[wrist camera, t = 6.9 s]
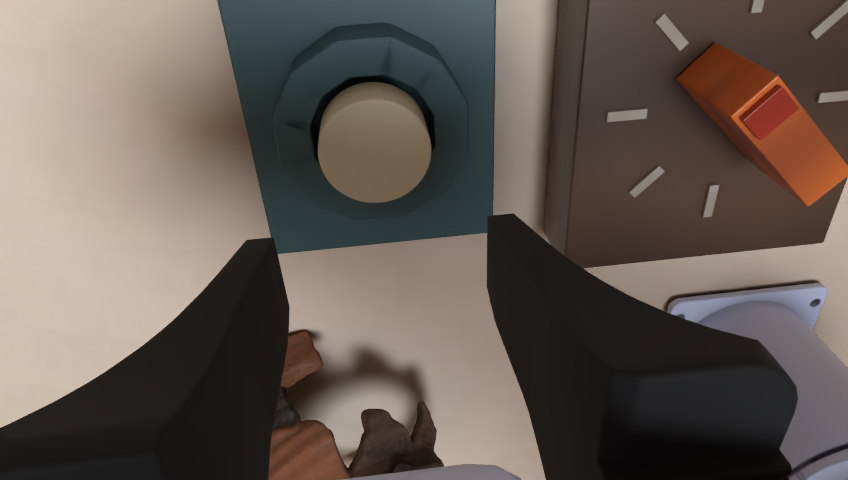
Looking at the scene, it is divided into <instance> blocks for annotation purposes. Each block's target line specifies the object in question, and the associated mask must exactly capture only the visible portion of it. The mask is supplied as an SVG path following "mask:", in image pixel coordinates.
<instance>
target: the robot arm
mask: <svg viewBox="0 0 848 480" xmlns="http://www.w3.org/2000/svg"><path fill="white" fill-rule="evenodd" d="M487 289H488V293H489V297H490V302H491V306H492V310H493V314H494V319H495V322H496V325H497V328H498V330H499V333H500V336H501V338H502V341H503V344H504V346H505V349H506V352H507V354H508V357H509V359H510V362H511V365H512V367H513V370H514V372H515V375H516V377H517V380H518V383H519V385H520V388H521V390H522V393H523V396H524V399H525V402H526V405H527V408H528V411H529V414H530V418H531V422H532V426H533V430H534V433H535V437H536V441H537V445H538V449H539V453H540V457H541V461H542V465H543V469H544V473H545V477H546V480H848V367H847V366H846V365H845V364H844V363H843V362H842V361H841V360H840V359H839V358H838V357H837V356H836V355H835V354H834V353H833V352H832V351H831V350H830V349H829V347H828V346H827V345H826V344H825V343H824V342H823V341H822V340H821V339H820V338H819V337H818V336H817V335H816V334H815V333H814V332H813V331H812V330H813V328H814V325H815V323H816V320H817V318H818V315H819V313H820V310H821V308H822V305H823V303H824V300H825V298H826V295H827V292H828V290H827V288H826V287H825V286H824V285H823V284H821V283H811V284H802V285H793V286H783V287H774V288H765V289H756V290H747V291H738V292H729V293H720V294H711V295H702V296H693V297H683V298H678V299H675V300H673V301H672V302H671V303H670V304H669V306H668V310H667V312H665V311H662V310H660V309H658V308H655V307H653V306H651V305H648V304H646V303H644V302H642V301H639V300H637V299H635V298H633V297H631V296H629V295H627V294H625V293H623V292H621V291H620V290H618V289H616V288H614V287H612V286H610V285H609V284H607V283H605V282H603V281H602V280H600V279H598V278H597V277H595V276H593V275H592V274H590V273H589V272H587V271H586V270H584V269H583V268H581V267H580V266H578V265H577V264H575V263H574V262H573V261H571V260H570V259H568V258H567V257H566V256H564V255H563V254H562V253H560V252H559V251H558V250H556V249H555V248H554V247H553V246H551V245H550V244H549V243H548V242H546V241H545V240H544V239H543V238H541V237H540V236H539V235H538V234H537V233H536V232H534V231H533V230H532V229H531V228H530V227H529V226H527V225H526V224H525V223H524V222H523V221H522V220H520V219H519V218H518V217H517V216H516V215H514V214H504V215H494V216H487ZM679 314H680V315H679ZM677 315H679V316H677ZM288 331H289V304H288V299H287V295H286V290H285V286H284V281H283V277H282V272H281V268H280V264H279V259H278V255H277V250H276V246H275V241H274V237H273V238H263V239H253V240H247V241H246V242H245V243H244V244H243V245H242V246H241V247H240V248H239V250H238V251H237V252H236V253H235V254H234V255H233V257H232V258H231V259H230V260H229V261H228V263H227V264H226V265H225V266H224V267H223V269H222V270H221V271H220V272H219V273H218V274H217V276H216V277H215V278H214V279H213V280H212V281H211V282H210V283H209V285H208V286H207V287H206V288H205V289H204V290H203V291H202V292H201V293H200V294H199V295H198V296H197V297H196V298H195V299H194V300H193V301H192V302H191V303H190V304H189V305H188V306H187V307H186V308H185V309H184V310H183V311H182V312H181V313H180V314H179V315H178V316H177V317H176V318H175V319H174V320H173V321H172V322H171V323H170V324H168V325H167V326H166V327H165V328H164V329H163V330H162V331H160V332H159V333H158V334H157V335H155V336H154V337H153V338H152V339H151V340H149V341H148V342H147V343H146V344H144V345H143V346H142V347H140V348H139V349H138V350H136V351H135V352H133V353H132V354H130V355H129V356H128V357H126V358H125V359H123V360H122V361H120V362H119V363H118V364H116V365H115V366H113V367H112V368H110V369H109V370H108V371H106V372H105V373H103V374H101V375H100V376H98V377H97V378H95V379H93V380H92V381H90V382H88V383H87V384H85V385H83V386H82V387H80V388H78V389H76V390H75V391H73V392H71V393H69V394H68V395H66V396H64V397H62V398H60V399H59V400H57V401H55V402H53V403H51V404H49V405H47V406H45V407H43V408H41V409H39V410H37V411H35V412H33V413H31V414H29V415H27V416H25V417H23V418H21V419H19V420H17V421H15V422H12V423H10V424H8V425H6V426H4V427H2V428H0V480H268V476H269V461H270V447H271V438H272V430H273V423H274V418H275V413H276V407H277V402H278V396H279V391H280V385H281V380H282V375H283V369H284V363H285V358H286V352H287V346H288ZM342 480H521V479H520V478H519V477H517V476H515V475H513V474H511V473H509V472H508V471H506V470H504V469H502V468H500V467H498V466H495V465H478V464H462V465H454V466H446V467H438V468H430V469H422V470H414V471H406V472H398V473H390V474H382V475H374V476H366V477H358V478H350V479H342Z"/></svg>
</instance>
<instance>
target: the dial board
mask: <svg viewBox="0 0 848 480" xmlns="http://www.w3.org/2000/svg"><path fill="white" fill-rule="evenodd" d="M714 43H717V44H719V45H721V46H723V47H725V48H727V49H729V50H731V51H733V52H735V53H736V54H738V55H740V56H742V57H744V58H746V59H748V60H750V61H752V62H754V63H756V64H757V65H759V66H761V67H763V68H765V69H767V70H769V71H771V72H773V73H775V74H777V75H778V76H779V77H780V78H781V79H782V81H783V82H784V83H785V85H786V86H787V87H788V89H789V90H790V91H791V92H792V94H793V95H794V96H795V98H796V99H797V100H798V102H799V103H800V104H801V106H802V107H803V108H804V109H805V111H806V112H807V113H808V115H809V116H810V117H811V119H812V120H813V121H814V123H815V124H816V125H817V126H818V128H819V129H820V130H821V132H822V133H823V134H824V136H825V137H826V138H827V140H828V141H829V142H830V143H831V145H832V146H833V147H834V149H835V150H836V151H837V153H838V154H839V155H840V156H841V158H842V159H843V160H844V162H845V163H846V164H847V166H848V0H559V13H558V28H557V43H556V57H555V72H554V87H553V102H552V116H551V131H550V146H549V161H548V175H547V190H546V205H545V220H544V233H545V235H546V237H547V239H548V241H549V243H550V245H551V246H553V247H554V248H555V249H556V250H558V251H559V252H560V253H562V254H563V255H564V256H566V257H567V258H568V259H570V260H571V261H573V262H574V263H575V264H577V265H578V266H580V267H581V268H589V267H599V266H608V265H618V264H627V263H637V262H646V261H656V260H665V259H675V258H684V257H693V256H703V255H712V254H722V253H731V252H741V251H750V250H760V249H769V248H778V247H788V246H797V245H807V244H816V243H822V242H824V239H825V236H826V234H827V231H828V228H829V226H830V223H831V220H832V217H833V215H834V212H835V209H836V207H837V204H838V201H839V199H840V196H841V193H842V191H843V188H844V185H845V183H846V180H847V177H846V178H845V179H844V180H842V181H841V182H840V183H839V184H837V185H836V186H835V187H833V188H832V189H831V190H830V191H828V192H827V193H826V194H824V195H823V196H822V197H820V198H819V199H818V200H817V201H815V202H814V203H813V204H811V205H810V206H806V205H804V204H803V203H802V202H801V201H799V200H798V199H797V198H795V197H794V196H793V195H792V194H790V193H789V192H788V191H786V190H785V189H784V188H783V187H781V186H780V185H779V184H777V183H776V182H775V181H774V180H772V179H771V178H770V177H768V176H767V175H766V174H765V173H763V172H762V171H761V170H759V169H758V168H757V167H756V166H754V165H753V164H752V163H750V162H749V161H748V160H747V159H746V158H745V157H744V156H743V154H742V153H741V152H740V151H739V150H738V149H737V148H736V147H735V145H734V144H733V143H732V142H731V141H730V140H729V139H728V137H727V136H726V135H725V134H724V133H723V132H722V131H721V130H720V128H719V127H718V126H717V125H716V124H715V123H714V122H713V120H712V119H711V118H710V117H709V116H708V115H707V114H706V113H705V111H704V110H703V109H702V108H701V107H700V106H699V105H698V104H697V102H696V101H695V100H694V99H693V98H692V97H691V96H690V94H689V93H688V92H687V91H686V90H685V89H684V88H683V87H682V85H681V84H680V83H679V82H678V81H677V79H676V78H677V77H678V76H679V75H680V74H681V73H683V72H684V71H685V70H686V69H687V68H688V67H689V66H690V65H691V64H692V63H693V62H694V61H695V60H697V59H698V58H699V57H700V56H701V55H702V54H703V53H704V52H705V51H706V50H707V49H708V48H709V47H710V46H712V45H713V44H714Z"/></svg>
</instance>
